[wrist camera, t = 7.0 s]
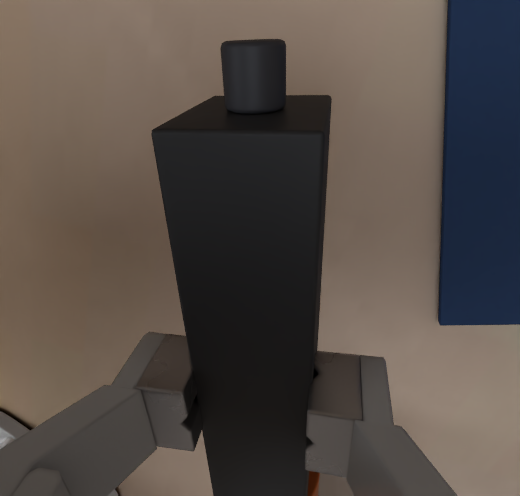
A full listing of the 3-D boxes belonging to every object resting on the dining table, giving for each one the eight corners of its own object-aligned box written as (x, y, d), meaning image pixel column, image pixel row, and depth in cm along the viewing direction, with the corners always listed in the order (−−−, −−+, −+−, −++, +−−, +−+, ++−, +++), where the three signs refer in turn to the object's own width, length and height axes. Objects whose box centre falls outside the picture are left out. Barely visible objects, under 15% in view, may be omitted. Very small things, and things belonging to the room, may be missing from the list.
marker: (318, 478, 14) (312, 581, 11) (237, 464, 14) (214, 560, 12) (352, 34, 7) (357, 40, 4) (192, 40, 7) (112, 47, 5)
